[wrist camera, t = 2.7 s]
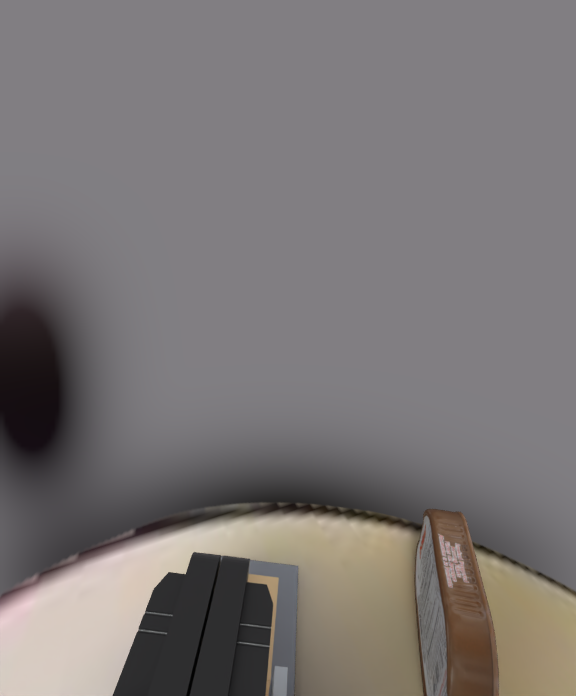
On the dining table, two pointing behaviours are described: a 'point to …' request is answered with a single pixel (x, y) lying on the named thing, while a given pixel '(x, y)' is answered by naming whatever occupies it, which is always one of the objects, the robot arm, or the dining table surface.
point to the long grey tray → (282, 625)
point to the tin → (453, 611)
